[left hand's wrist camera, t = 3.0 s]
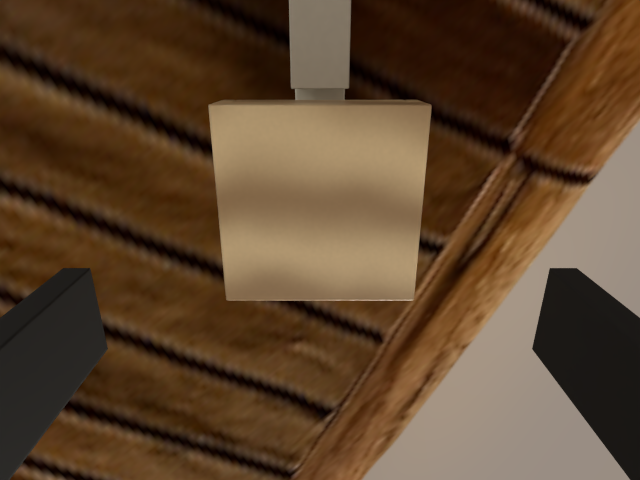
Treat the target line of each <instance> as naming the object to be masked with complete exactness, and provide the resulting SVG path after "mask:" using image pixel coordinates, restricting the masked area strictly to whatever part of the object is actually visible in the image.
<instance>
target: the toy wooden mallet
mask: <svg viewBox="0 0 640 480" xmlns="http://www.w3.org/2000/svg"><path fill="white" fill-rule="evenodd" d="M289 23H290V66H291V89H295V100H345V89H349V66H350V23H351V0H289Z"/></svg>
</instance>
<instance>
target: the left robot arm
mask: <svg viewBox="0 0 640 480" xmlns="http://www.w3.org/2000/svg"><path fill="white" fill-rule="evenodd" d="M107 349H108V348H107V343H106V339H105V334H104V330H103V325H102V320H101V316H100V311H99V307H98V302H97V298H96V293H95V288H94V284H93V279H92V275H91V270H90V268H63V269H62V270H61V271H59V272H58V273H57V274H55V275H54V276H53V277H52V278H50V279H49V280H48V281H47V282H45V283H44V284H43V285H41V286H40V287H39V288H38V289H36V290H35V291H34V292H33V293H31V294H30V295H29V296H28V297H26V298H25V299H24V300H22V301H21V302H20V303H19V304H17V305H16V306H15V307H14V308H12V309H11V310H10V311H9V312H7V313H6V314H5V315H3V316H2V317H1V318H0V480H10V478H11V477H12V476H13V474H14V473H15V472H16V470H17V469H18V468H19V466H20V465H21V464H22V462H23V461H24V460H25V458H26V457H27V456H28V454H29V453H30V452H31V450H32V449H33V448H34V446H35V445H36V444H37V442H38V441H39V440H40V439H41V437H42V436H43V435H44V433H45V432H46V431H47V429H48V428H49V427H50V425H51V424H52V423H53V421H54V420H55V419H56V417H57V416H58V415H59V413H60V412H61V411H62V409H63V408H64V407H65V405H66V404H67V403H68V401H69V400H70V399H71V397H72V396H73V395H74V393H75V392H76V391H77V389H78V388H79V387H80V385H81V384H82V383H83V381H84V380H85V379H86V377H87V376H88V375H89V373H90V372H91V371H92V369H93V368H94V367H95V365H96V364H97V363H98V361H99V360H100V359H101V357H102V356H103V355H104V353H105V352H106V351H107ZM532 349H533V351H534V352H535V353H536V355H537V356H538V357H539V359H540V360H541V361H542V363H543V364H544V365H545V367H546V368H547V369H548V371H549V372H550V373H551V374H552V376H553V377H554V378H555V380H556V381H557V382H558V384H559V385H560V387H561V388H562V389H563V391H564V392H565V393H566V395H567V396H568V397H569V398H570V400H571V401H572V403H573V404H574V405H575V407H576V408H577V409H578V411H579V412H580V413H581V415H582V416H583V417H584V419H585V420H586V421H587V423H588V424H589V425H590V427H591V428H592V429H593V431H594V432H595V433H596V435H597V436H598V437H599V439H600V440H601V441H602V442H603V444H604V445H605V447H606V448H607V449H608V450H609V452H610V453H611V454H612V456H613V457H614V458H615V460H616V461H617V462H618V464H619V465H620V466H621V468H622V469H623V470H624V472H625V473H626V474H627V476H628V477H629V478H630V480H640V318H639V317H638V316H637V315H635V314H634V313H633V312H631V311H630V310H629V309H628V308H626V307H625V306H624V305H623V304H621V303H620V302H619V301H618V300H616V299H615V298H614V297H612V296H611V295H610V294H609V293H607V292H606V291H605V290H604V289H602V288H601V287H600V286H598V285H597V284H596V283H595V282H593V281H592V280H591V279H590V278H588V277H587V276H586V275H585V274H583V273H582V272H581V271H579V270H578V269H577V268H550V270H549V275H548V279H547V284H546V288H545V293H544V298H543V302H542V307H541V311H540V316H539V321H538V325H537V330H536V334H535V339H534V344H533V348H532Z"/></svg>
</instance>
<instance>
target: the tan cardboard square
mask: <svg viewBox="0 0 640 480" xmlns="http://www.w3.org/2000/svg"><path fill="white" fill-rule="evenodd" d="M209 117H210V128H211V139H212V150H213V161H214V172H215V183H216V194H217V205H218V216H219V226H220V237H221V248H222V259H223V270H224V281H225V292H226V300H414V292H415V281H416V270H417V259H418V248H419V237H420V226H421V216H422V205H423V194H424V183H425V172H426V161H427V150H428V139H429V128H430V117H431V105H430V104H427V103H424V102H421V101H419V100H405V101H404V100H236V101H235V100H222V101H219V102H216V103H213V104H210V105H209Z"/></svg>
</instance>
